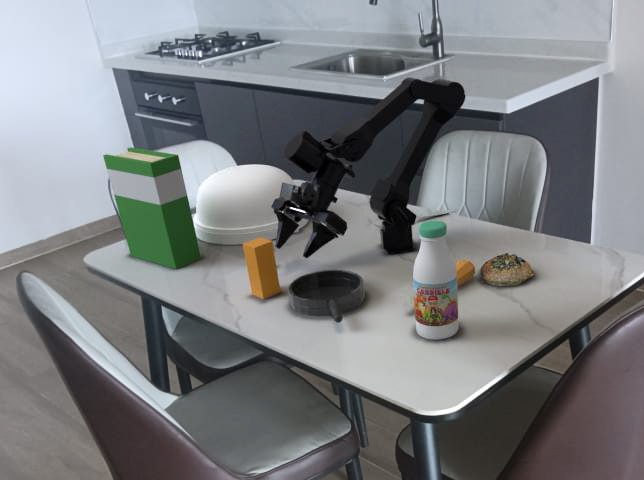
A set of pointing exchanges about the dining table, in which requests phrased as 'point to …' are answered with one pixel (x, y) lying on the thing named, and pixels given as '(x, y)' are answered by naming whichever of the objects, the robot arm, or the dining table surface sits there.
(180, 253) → the hardback book
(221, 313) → the dining table surface
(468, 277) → the carrot
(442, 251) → the milk bottle
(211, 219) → the dome cover
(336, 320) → the pan handle
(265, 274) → the cheese
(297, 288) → the pan
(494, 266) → the bread roll
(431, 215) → the fork
